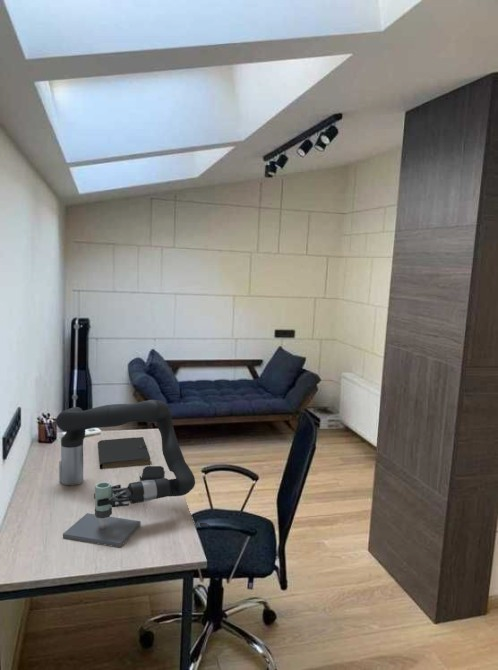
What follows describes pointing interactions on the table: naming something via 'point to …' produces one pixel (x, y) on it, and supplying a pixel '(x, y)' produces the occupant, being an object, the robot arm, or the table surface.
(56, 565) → the table surface
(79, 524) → the pin board
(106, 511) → the sleeve
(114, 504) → the robot arm
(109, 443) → the dark grey book
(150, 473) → the carrying case or bag
